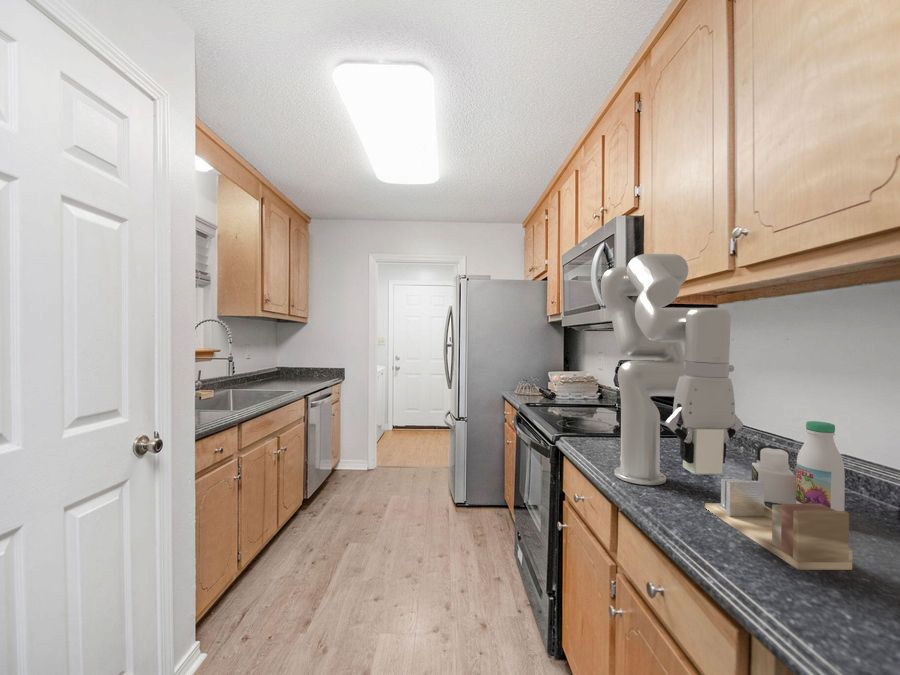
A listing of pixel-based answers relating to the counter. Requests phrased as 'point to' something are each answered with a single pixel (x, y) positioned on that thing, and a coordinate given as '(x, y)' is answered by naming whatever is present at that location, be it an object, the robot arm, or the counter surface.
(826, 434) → the milk bottle
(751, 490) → the bookend
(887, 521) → the counter surface
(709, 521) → the counter surface
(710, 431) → the pale green block
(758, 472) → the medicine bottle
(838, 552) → the panel
